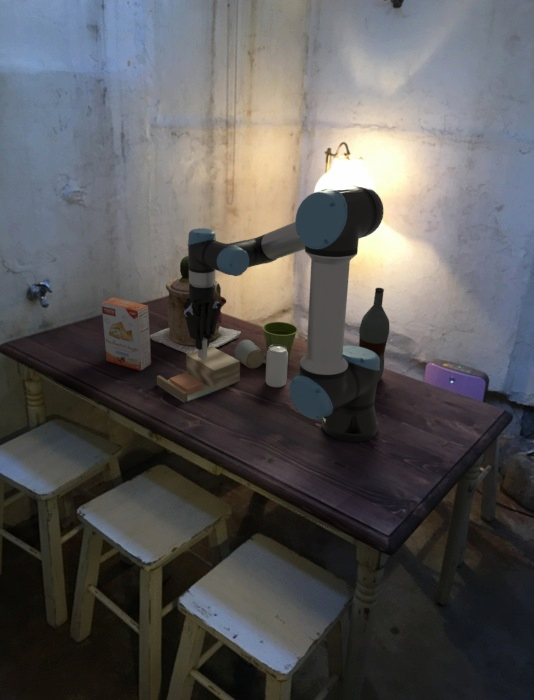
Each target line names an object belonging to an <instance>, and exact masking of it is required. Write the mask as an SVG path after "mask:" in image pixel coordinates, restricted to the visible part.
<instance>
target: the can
mask: <svg viewBox="0 0 534 700" xmlns="http://www.w3.org/2000/svg"><path fill="white" fill-rule="evenodd" d="M266 357H267V360H266V363H265V366H266V367H265V383H266V385H267V386H268V387H271V388H276V389H277V388H278V389H279V388H282V387H284V386H286V385H287V380H288V379H287V378H288V377H287V376H288V363H289V362H288V361H289V360H288V352H287V348H286V347H285V346H283V345H271V346H269V349H268V351H267V350H266Z"/></svg>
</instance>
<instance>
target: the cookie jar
mask: <svg viewBox="0 0 534 700" xmlns="http://www.w3.org/2000/svg"><path fill="white" fill-rule="evenodd" d="M179 272H180V276H179V277H175V278H172V279H171V280H168V281H167V283H166V285H165V288H166V290H167V292H168V300H167V314H166V319H167V324H168V327H167V328H164V329H161V330H159V331H157V332H154V333H152V334H150V340H152V341H154V342H156V343H159V344H162V345H165V346H166V347H169V348H171V349H173V350H176V351H179V352H182V353H184V354H189V353H192V352H195V351H198V349H197V348H196V340H195V339H193V338H191V337H190V334H189V330H188V326H187V322H186V318H185V316H184V314H183V313H182V311H183V310H186V309H187V308H188V307H189V303H190V296H189V285H190V283H189V259H188V255H186V256H184V257H183V258H182V259H181V261H180V263H179ZM214 284H215V297H214V298H215V301H216V302H219V303H221V304H222V306H221V308H220V310H219V313H218V318H217V323H216V328H215V333H214V335H211V339H209V347H211V346H212V347H214V348H216V349H217V348H219V347H221V346H224V345H225V344H227V343H230V342H232V341H234V340H236V339H238V338H239V337H240V336H241V334H242V333H241V332H242V331H240V330H235V329H232V328H226V327H222V326H221V325H223V318H222V311H221V310H222V308H223V306H225V305H226V303H227V299H226V298H225V297H223V296H221V293H222V290H221V289H222V288H221V285H220V283H219V282H218V280H217V279H215V283H214ZM192 313H193V315H192V316H193V318H194V322H195V317H194V312H193V311H192ZM207 348H208V347H207Z"/></svg>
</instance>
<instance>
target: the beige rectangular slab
mask: <svg viewBox="0 0 534 700" xmlns="http://www.w3.org/2000/svg"><path fill="white" fill-rule="evenodd" d="M185 354H186V353H185ZM185 357H186V359H185V360H186V363H185V364H186V373H187V374H189V375H191V376H192V377H194V378H196V379H197V380H199V381H201V382H202V383H204V384H205V385H207V386H208V387H210V388H212V389H213V390H214V392H217V391H219V390H221V389H223V388H226V387H229V386H231V385H234V384H236V383H239V382H240V381H241V379H240V377H241V376H240V375H241V374H240V373H241V362H240V361H239V360H238V359H236V357H233V356H231V355H229V354H227V353H225V352H223V351H222V350H220V349H217V348H214V347H212V346H211V347H208V348H207V359H205V360H202V359H201V358H199V357H198V351H195V352H192V353H189V354H186V355H185Z"/></svg>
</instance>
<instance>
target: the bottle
mask: <svg viewBox="0 0 534 700" xmlns="http://www.w3.org/2000/svg"><path fill="white" fill-rule="evenodd" d="M384 291H385V289H384V288H382V287H376V288H375V291H374V299H373V305H372V306H371V307H370V308H369V309H368V311H367V312H366V313H365V314H364V315H363V317H362V319H361V322H360V324H359V328H358V329H359V339H358V347H362V348H366V349H369V350H371V351H373V352H375V353H376V354H377V355H378V357H379V358H380V366H379V368H380V370H379V375H378V382H377V383H379V382H381V379H382V378H383V374H384V371H385V370H384V369H385V353H386V352H385V351H386V347H387V342H388V339H389V335H390V320H389V318H388V315H387V314H386V311H385V310H384V307H383V299H384Z"/></svg>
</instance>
